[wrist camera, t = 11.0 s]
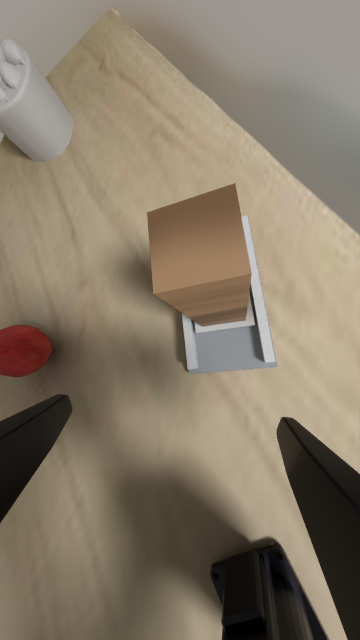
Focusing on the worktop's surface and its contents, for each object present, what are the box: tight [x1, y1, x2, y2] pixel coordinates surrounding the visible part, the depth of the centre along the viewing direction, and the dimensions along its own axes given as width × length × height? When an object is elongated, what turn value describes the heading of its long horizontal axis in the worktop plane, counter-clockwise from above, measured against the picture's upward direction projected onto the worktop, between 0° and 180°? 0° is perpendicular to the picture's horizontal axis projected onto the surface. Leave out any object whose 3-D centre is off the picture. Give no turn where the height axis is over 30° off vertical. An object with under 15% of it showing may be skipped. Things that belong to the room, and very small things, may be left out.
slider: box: [182, 216, 277, 374], centre depth 20 cm, size 15×8×2 cm, turn 6°
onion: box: [0, 325, 53, 377], centre depth 22 cm, size 6×6×8 cm
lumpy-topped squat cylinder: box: [0, 39, 73, 162], centre depth 30 cm, size 10×13×9 cm
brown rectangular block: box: [147, 183, 255, 334], centre depth 14 cm, size 5×5×12 cm
